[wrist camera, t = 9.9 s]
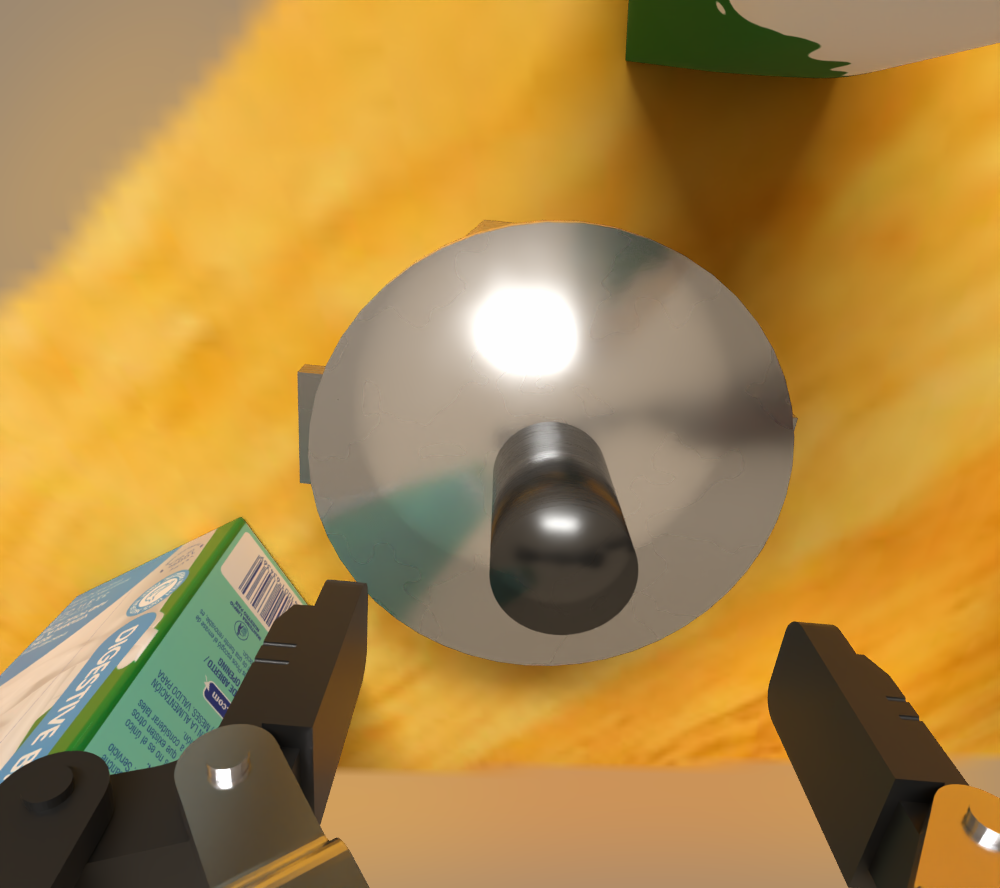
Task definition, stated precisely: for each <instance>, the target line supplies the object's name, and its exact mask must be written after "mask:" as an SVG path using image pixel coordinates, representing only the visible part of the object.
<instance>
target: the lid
mask: <svg viewBox="0 0 1000 888" xmlns="http://www.w3.org/2000/svg"><path fill="white" fill-rule="evenodd" d="M793 448H794V429H793V415H792V406H791V402H790V398H789V393H788V389H787V385H786V380H785V377H784V375H783V372H782V370H781V367H780V364H779V362H778V359H777V357H776V354H775V352H774V350H773V348H772V346H771V344H770V343H769V341H768V339H767V338H766V336H765V334H764V332H763V331H762V329H761V327H760V326H759V324H758V322H757V321H756V320H755V319H754V317H753V316H752V315H751V314H750V312H749V311H748V310H747V309H746V307H745V306H744V305H743V304H742V303H741V301H740V300H739V299H738V298H737V297H736V296H735V295H734V294H733V293H732V292H731V291H730V290H729V289H728V288H727V287H725V286H724V285H723V284H722V283H721V282H720V281H719V280H718V279H717V278H716V277H715V276H713V275H712V274H711V273H709V272H708V271H706V270H705V269H703V268H702V267H700V266H699V265H697V264H696V263H694V262H693V261H691V260H690V259H688V258H687V257H686V256H684V255H682V254H680V253H678V252H676V251H674V250H672V249H670V248H668V247H666V246H664V245H662V244H660V243H658V242H656V241H654V240H652V239H650V238H648V237H645V236H642V235H638V234H635V233H632V232H629V231H626V230H623V229H620V228H616V227H612V226H607V225H601V224H595V223H589V222H583V221H562V220H541V221H531V222H522V223H513V224H507V225H503V226H499V227H495V228H491V229H487V230H483V231H479V232H476V233H473V234H471V235H468V236H466V237H463V238H461V239H458V240H456V241H453V242H451V243H448V244H446V245H444V246H442V247H440V248H438V249H437V250H435V251H433V252H431V253H430V254H428V255H426V256H424V257H423V258H421V259H419V260H417V261H416V262H414V263H413V264H412V265H410V266H409V267H408V268H406V269H405V270H404V271H403V272H401V273H400V274H399V275H397V276H396V277H395V278H393V279H392V280H391V281H390V282H388V283H387V284H386V285H385V287H384V288H383V289H382V290H381V291H380V292H379V293H378V294H377V295H376V296H375V297H374V298H373V299H372V300H371V301H370V302H369V303H368V304H367V305H366V306H365V307H364V308H363V309H362V310H361V311H360V313H359V314H358V315H357V317H356V318H355V319H354V321H353V322H352V323H351V325H350V326H349V328H348V329H347V330H346V332H345V333H344V334H343V336H342V337H341V339H340V341H339V343H338V344H337V346H336V348H335V350H334V352H333V354H332V356H331V358H330V359H329V361H328V363H327V365H326V367H325V370H324V373H323V376H322V379H321V381H320V384H319V387H318V390H317V393H316V396H315V401H314V406H313V411H312V415H311V420H310V428H309V447H308V458H309V469H310V480H311V486H312V490H313V494H314V498H315V503H316V507H317V511H318V513H319V516H320V518H321V521H322V523H323V526H324V529H325V531H326V534H327V536H328V538H329V540H330V542H331V543H332V545H333V547H334V549H335V551H336V552H337V554H338V556H339V558H340V560H341V561H342V562H343V564H344V565H345V567H346V568H347V569H348V571H349V572H350V573H351V575H352V576H353V577H354V579H355V580H356V581H357V582H361V583H367V587H368V594H369V595H370V596H371V597H372V598H373V599H374V600H375V602H377V603H378V604H379V605H380V606H382V607H383V608H384V609H385V610H386V611H388V612H389V613H390V614H391V615H392V616H394V617H395V618H396V619H398V620H399V621H401V622H402V623H404V624H405V625H407V626H408V627H410V628H412V629H413V630H415V631H416V632H418V633H419V634H421V635H423V636H425V637H427V638H429V639H431V640H434V641H436V642H438V643H440V644H442V645H444V646H446V647H449V648H452V649H455V650H457V651H460V652H463V653H466V654H469V655H472V656H476V657H480V658H484V659H489V660H493V661H497V662H504V663H512V664H520V665H540V666H556V665H569V664H580V663H586V662H591V661H597V660H602V659H607V658H611V657H614V656H617V655H621V654H624V653H628V652H631V651H634V650H637V649H639V648H641V647H644V646H646V645H649V644H651V643H654V642H656V641H658V640H661V639H662V638H664V637H666V636H668V635H670V634H672V633H673V632H675V631H677V630H679V629H681V628H683V627H684V626H686V625H687V624H689V623H690V622H691V621H693V620H694V619H696V618H697V617H699V616H700V615H701V614H703V613H704V612H706V611H707V610H708V609H709V608H711V607H712V606H713V605H714V604H715V603H716V602H717V601H718V600H720V599H721V598H722V597H723V596H724V595H725V594H726V593H728V592H729V590H730V589H731V588H732V587H733V586H734V585H735V584H736V583H737V582H738V580H739V579H740V578H741V577H742V576H743V575H744V574H745V573H746V571H747V570H748V569H749V567H750V566H751V564H752V563H753V562H754V560H755V559H756V557H757V556H758V554H759V553H760V551H761V550H762V549H763V547H764V545H765V543H766V541H767V539H768V537H769V536H770V534H771V532H772V530H773V528H774V526H775V524H776V522H777V519H778V516H779V514H780V511H781V508H782V505H783V503H784V500H785V497H786V494H787V489H788V484H789V480H790V475H791V470H792V463H793Z"/></svg>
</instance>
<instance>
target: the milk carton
mask: <svg viewBox="0 0 1000 888" xmlns="http://www.w3.org/2000/svg"><path fill="white" fill-rule="evenodd" d="M294 604H299V605H307V603H306V602H305V601H304V599H303V598H302V597H301V595H300V594H299V593H298V591H297V590H296V589H295V587H294V586H293V585H292V583H291V582H290V581H289V579H288V578H287V577H286V575H285V574H284V573H283V571H282V570H281V569H280V567H279V566H278V565H277V563H276V562H275V561H274V559H273V558H272V557H271V555H270V554H269V553H268V551H267V550H266V549H265V547H264V546H263V545H262V543H261V542H260V541H259V539H258V538H257V537H256V535H255V534H254V533H253V531H252V530H251V529H250V527H249V526H248V525H247V523H246V522H245V521H244V519H243V518H242V517H240V518H238V519H236V520H233V521H231V522H229V523H227V524H225V525H223V526H221V527H219V528H217V529H215V530H213V531H211V532H209V533H207V534H205V535H203V536H200V537H198V538H196V539H194V540H192V541H190V542H188V543H186V544H184V545H182V546H180V547H178V548H176V549H174V550H172V551H170V552H167V553H165V554H163V555H161V556H159V557H157V558H155V559H153V560H151V561H149V562H147V563H145V564H143V565H141V566H139V567H137V568H135V569H132V570H130V571H128V572H126V573H124V574H122V575H120V576H118V577H116V578H114V579H112V580H110V581H108V582H106V583H104V584H102V585H99V586H97V587H95V588H93V589H91V590H89V591H87V592H85V593H83V594H81V595H79V596H77V597H76V598H75V599H74V600H73V601H72V602H71V603H70V604H69V605H68V606H67V607H66V608H65V609H64V611H63V612H62V613H61V614H60V615H59V616H58V617H57V618H56V619H55V620H54V621H53V622H52V623H51V624H50V625H49V626H48V627H47V628H46V629H45V630H44V631H43V632H42V633H41V634H40V635H39V636H38V637H37V638H36V639H35V640H34V641H33V642H32V643H31V644H30V645H29V646H28V647H27V648H26V650H25V651H24V652H23V653H22V654H21V655H20V656H19V657H18V658H17V659H16V660H15V661H14V662H13V663H12V664H11V665H10V666H9V667H8V668H7V669H6V670H5V671H4V672H3V673H2V674H1V675H0V784H1V783H2V782H3V781H4V780H5V779H6V778H7V777H8V776H10V775H11V774H12V773H14V772H15V771H16V770H18V769H19V768H21V767H23V766H24V765H26V764H28V763H30V762H32V761H34V760H36V759H39V758H41V757H44V756H47V755H50V754H54V753H58V752H64V751H86V752H90V753H93V754H95V755H97V756H99V757H100V758H102V759H103V760H104V761H105V763H106V764H107V766H108V769H109V773H110V775H112V774H117V773H123V772H128V771H134V770H139V769H145V768H150V767H155V766H160V765H164V764H167V763H170V762H173V761H176V760H178V759H179V757H180V756H181V754H182V753H183V751H184V750H185V749H186V748H187V747H188V746H189V745H190V744H191V743H192V742H193V741H195V740H196V739H197V738H198V737H200V736H202V735H203V734H205V733H207V732H209V731H211V730H214V729H216V728H218V727H219V725H220V723H221V721H222V719H223V717H224V716H225V714H226V712H227V710H228V708H229V706H230V704H231V702H232V700H233V698H234V696H235V695H236V693H237V691H238V689H239V687H240V685H241V683H242V681H243V679H244V677H245V675H246V674H247V672H248V670H249V668H250V666H251V664H252V662H254V660H255V656H256V655H257V653H258V651H259V649H260V647H261V645H263V641H264V639H265V637H266V635H267V634H268V632H269V630H270V628H271V626H272V624H273V622H274V621H275V620H276V619H277V618H278V617H279V616H281V615H282V614H283V613H284V612H286V611H287V610H288V609H289V608H291V607H292V606H293V605H294Z"/></svg>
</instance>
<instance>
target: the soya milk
mask: <svg viewBox="0 0 1000 888" xmlns="http://www.w3.org/2000/svg"><path fill="white" fill-rule="evenodd" d="M995 43H1000V0H629V3H628V22H627V40H626V58H625V60H626V61H631V62H640V63H648V64H656V65H664V66H672V67H679V68H687V69H695V70H703V71H712V72H722V73H735V74H748V75H762V76H781V77H801V78H838V77H848V76H854V75H860V74H866V73H871V72H875V71H879V70H884V69H888V68H892V67H896V66H901V65H905V64H909V63H914V62H918V61H922V60H927V59H931V58H935V57H940V56H944V55H948V54H952V53H957V52H961V51H965V50H970V49H974V48H978V47H982V46H987V45H991V44H995Z"/></svg>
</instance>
